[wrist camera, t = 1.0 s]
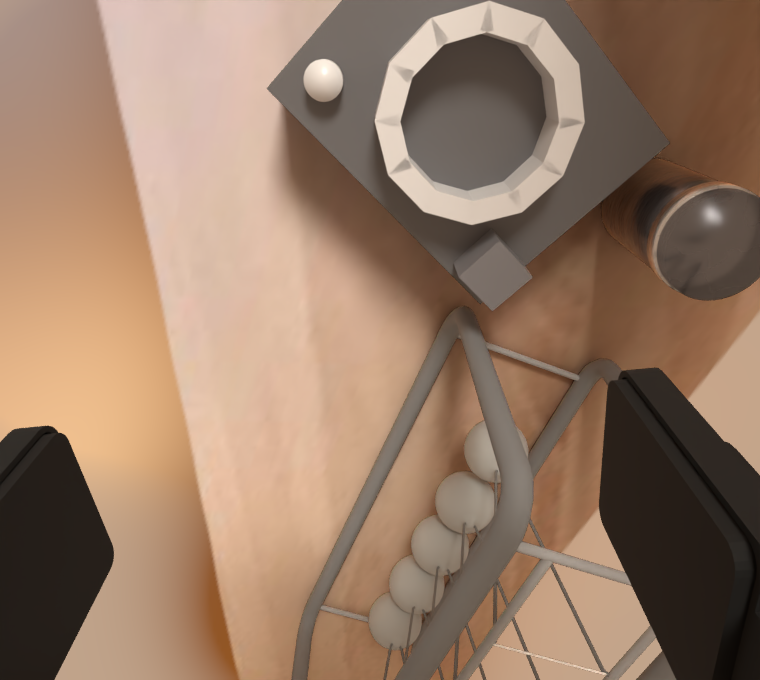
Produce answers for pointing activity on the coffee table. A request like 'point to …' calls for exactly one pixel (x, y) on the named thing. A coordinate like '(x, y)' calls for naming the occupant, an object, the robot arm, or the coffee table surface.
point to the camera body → (471, 124)
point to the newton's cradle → (468, 526)
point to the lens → (688, 229)
